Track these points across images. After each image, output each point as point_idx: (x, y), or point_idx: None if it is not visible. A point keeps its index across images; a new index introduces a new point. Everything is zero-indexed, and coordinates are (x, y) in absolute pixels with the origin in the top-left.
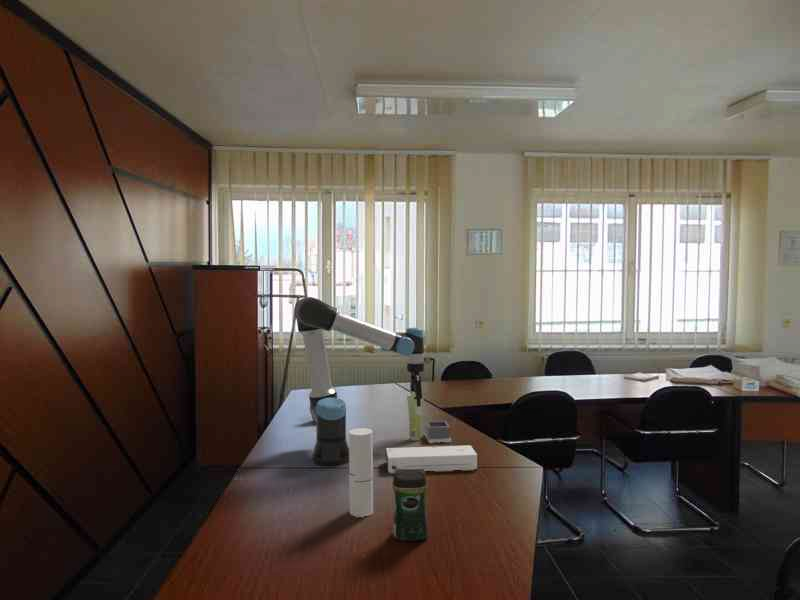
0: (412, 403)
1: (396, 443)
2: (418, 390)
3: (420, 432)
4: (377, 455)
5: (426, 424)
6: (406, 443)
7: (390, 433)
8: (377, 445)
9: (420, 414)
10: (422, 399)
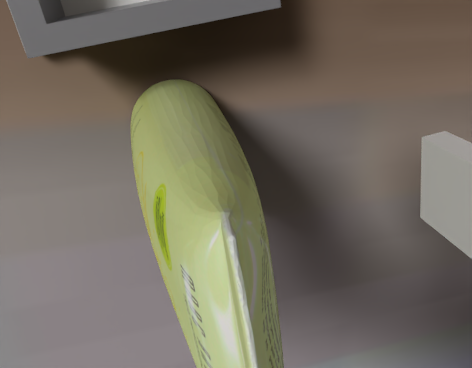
0: (279, 349)
1: (275, 235)
2: None
3: (195, 91)
4: (463, 289)
5: (118, 39)
6: (274, 174)
7: (51, 311)
8: (311, 325)
9: (235, 144)
10: (253, 221)
